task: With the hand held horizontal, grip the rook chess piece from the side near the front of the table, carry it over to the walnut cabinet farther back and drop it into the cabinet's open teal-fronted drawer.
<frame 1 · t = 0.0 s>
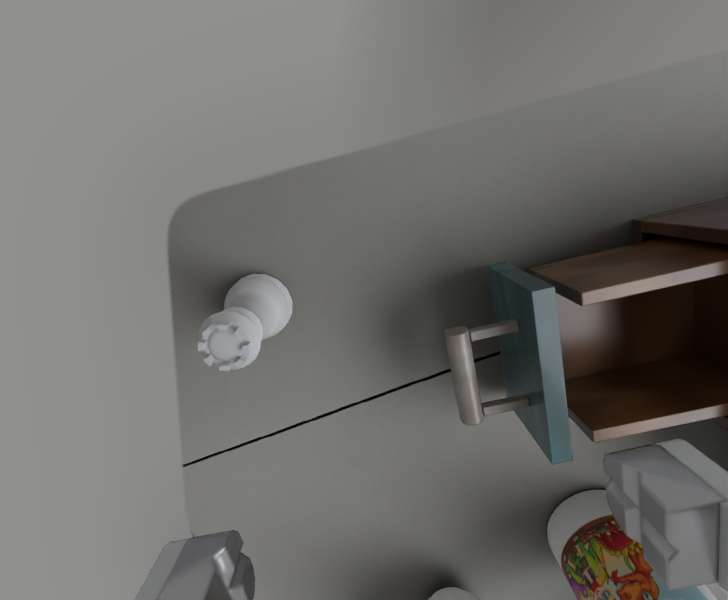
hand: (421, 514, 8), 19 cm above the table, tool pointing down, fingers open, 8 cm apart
drawer: (592, 340, 23), point 4 cm above the table, slide at 9.0 cm
sauce bottle: (447, 593, 35), on the table
cup: (718, 592, 35), on the table
rook chess piece: (262, 302, 27), on the table
milk bottle: (588, 521, 33), on the table
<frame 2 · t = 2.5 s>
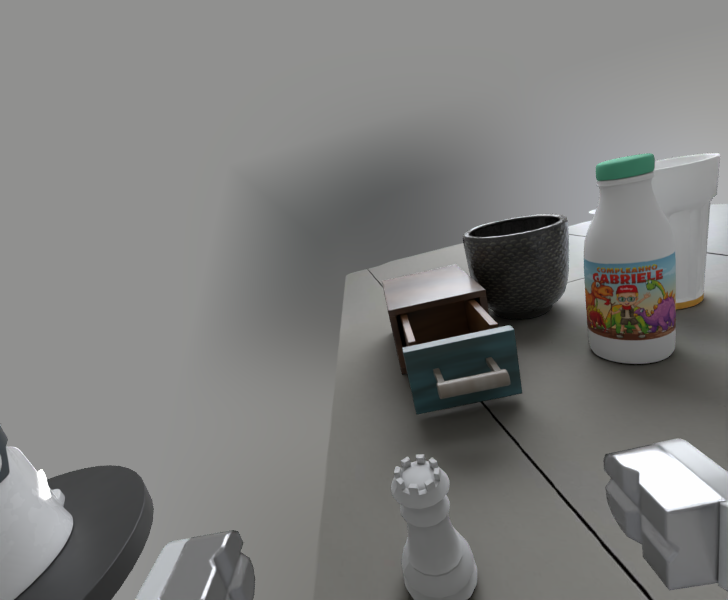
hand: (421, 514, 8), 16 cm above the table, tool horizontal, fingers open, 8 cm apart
drawer: (452, 352, 41), point 4 cm above the table, slide at 9.0 cm
cup: (658, 299, 52), on the table
cabinet: (437, 341, 55), on the table
planter: (522, 310, 59), on the table
rook chess piece: (441, 579, 23), on the table
milk bottle: (630, 350, 42), on the table
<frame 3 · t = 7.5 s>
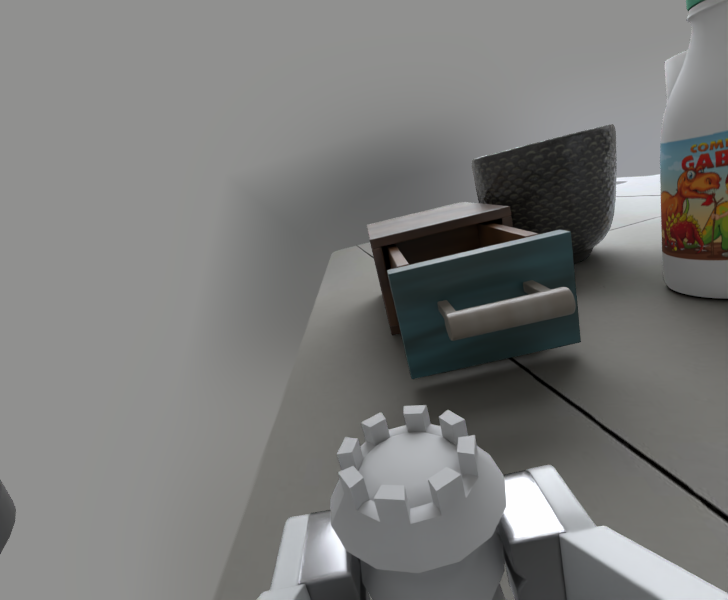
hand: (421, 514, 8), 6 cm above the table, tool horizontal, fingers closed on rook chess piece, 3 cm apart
drawer: (466, 289, 27), point 4 cm above the table, slide at 9.0 cm
cabinet: (440, 298, 41), on the table
planter: (550, 261, 45), on the table
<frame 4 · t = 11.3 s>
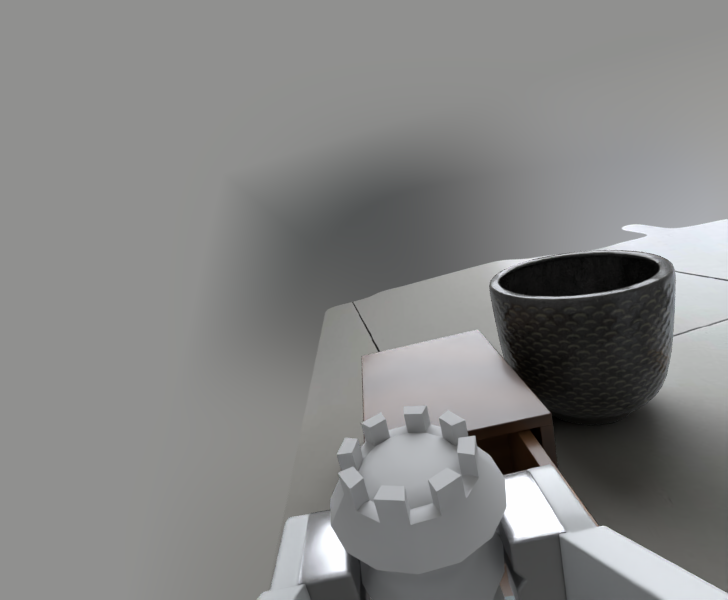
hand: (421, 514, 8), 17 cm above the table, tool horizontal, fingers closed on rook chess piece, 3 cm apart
drawer: (499, 573, 19), point 4 cm above the table, slide at 9.0 cm
cabinet: (452, 466, 33), on the table
planter: (583, 402, 37), on the table
when the fingers open (9 cm above the table, at t = 15.3 s): rook chess piece moves 1 cm, point 3 cm above the table.
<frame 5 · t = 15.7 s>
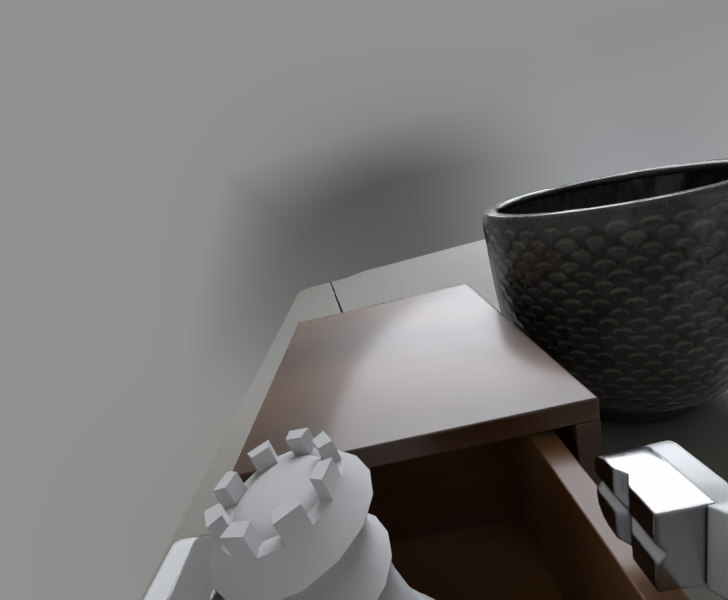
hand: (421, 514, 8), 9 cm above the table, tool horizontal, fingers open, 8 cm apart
cabinet: (423, 486, 21), on the table
planter: (620, 389, 25), on the table
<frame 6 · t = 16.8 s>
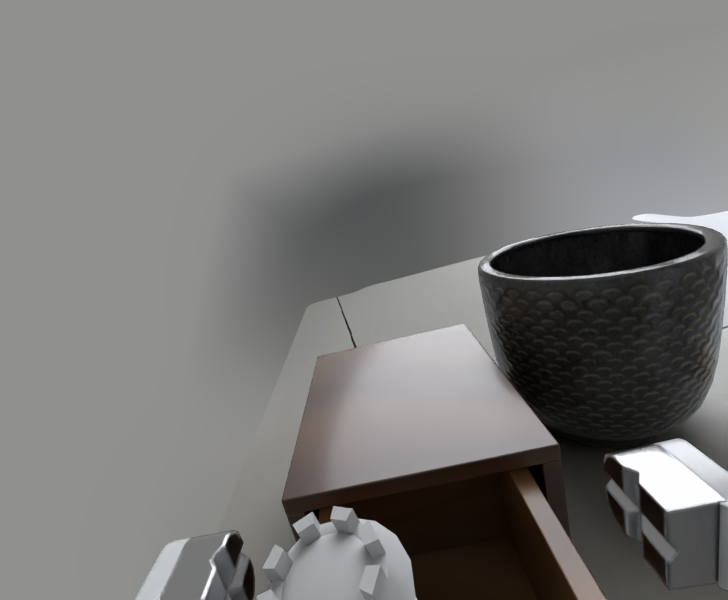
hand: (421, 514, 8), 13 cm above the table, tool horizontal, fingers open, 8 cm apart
cabinet: (426, 502, 25), on the table
planter: (597, 416, 29), on the table
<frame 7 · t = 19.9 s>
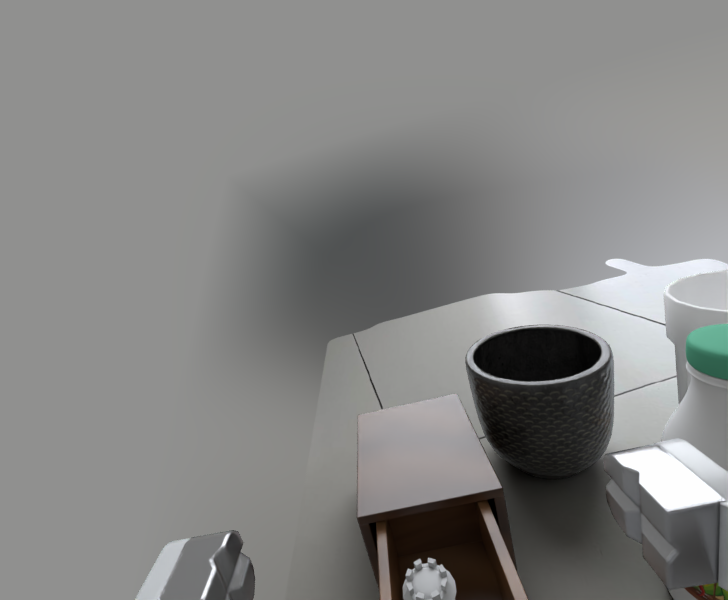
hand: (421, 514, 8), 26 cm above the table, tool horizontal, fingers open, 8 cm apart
cabinet: (432, 514, 39), on the table
planter: (546, 455, 43), on the table
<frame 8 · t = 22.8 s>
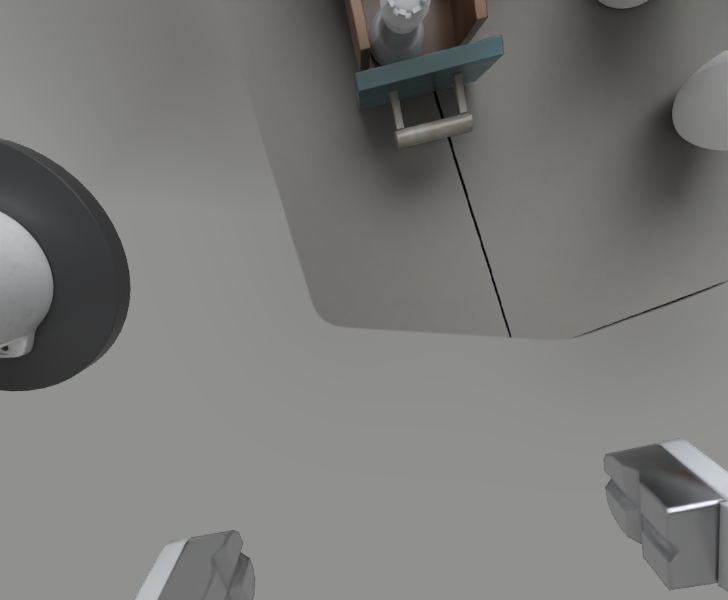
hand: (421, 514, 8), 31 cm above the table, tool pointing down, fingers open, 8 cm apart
drawer: (411, 19, 29), point 4 cm above the table, slide at 9.9 cm, touching rook chess piece
sauce bottle: (686, 111, 35), on the table
rook chess piece: (394, 41, 32), point 2 cm above the table, touching drawer
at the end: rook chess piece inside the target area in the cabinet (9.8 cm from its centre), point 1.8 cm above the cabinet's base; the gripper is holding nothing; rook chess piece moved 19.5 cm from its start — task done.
